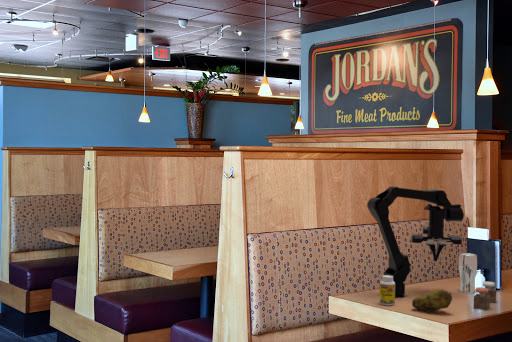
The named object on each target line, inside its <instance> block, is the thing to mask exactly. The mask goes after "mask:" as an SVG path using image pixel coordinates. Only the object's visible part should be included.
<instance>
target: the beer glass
mask: <svg viewBox="0 0 512 342" xmlns="http://www.w3.org/2000/svg"><path fill="white" fill-rule="evenodd" d="M458 258H459V259H458V271H459V276H460V277H459V278H460V284H459V285H460V286H459V290H458V291H459V292H461V293H465V294H473V293H475V294H476V288H475V287H476V286H475V279H476V275H477V270H478V254H475V253H470V252H469V253H467V252H465V253H464V252H461V253H459V257H458Z"/></svg>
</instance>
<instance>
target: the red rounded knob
mask: <svg viewBox="0 0 512 342" xmlns="http://www.w3.org/2000/svg"><path fill="white" fill-rule="evenodd" d="M475 293H477V294H479V296H481V297H485V293H488V289H487V288H486V287H483V286H482V287H476V288H475Z"/></svg>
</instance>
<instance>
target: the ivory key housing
mask: <svg viewBox="0 0 512 342" xmlns="http://www.w3.org/2000/svg"><path fill="white" fill-rule="evenodd" d="M485 295H490V303H493V304H494V303H496V302H497V290H496V289H495V287H491V290H488V293H485Z"/></svg>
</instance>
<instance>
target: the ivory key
mask: <svg viewBox="0 0 512 342" xmlns="http://www.w3.org/2000/svg"><path fill="white" fill-rule="evenodd" d="M495 285H496V283H495V282H494V281H482V287H485V288H487V289H488V290H491V288H495Z"/></svg>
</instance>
